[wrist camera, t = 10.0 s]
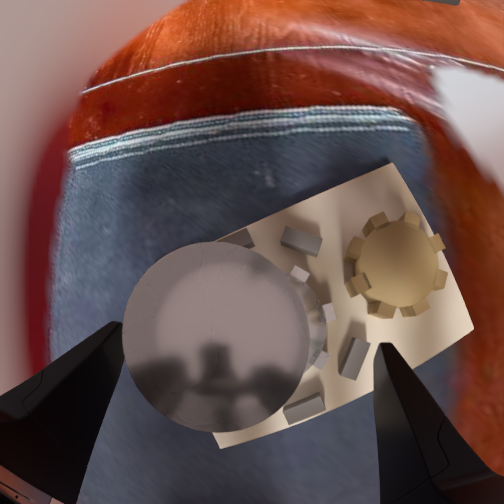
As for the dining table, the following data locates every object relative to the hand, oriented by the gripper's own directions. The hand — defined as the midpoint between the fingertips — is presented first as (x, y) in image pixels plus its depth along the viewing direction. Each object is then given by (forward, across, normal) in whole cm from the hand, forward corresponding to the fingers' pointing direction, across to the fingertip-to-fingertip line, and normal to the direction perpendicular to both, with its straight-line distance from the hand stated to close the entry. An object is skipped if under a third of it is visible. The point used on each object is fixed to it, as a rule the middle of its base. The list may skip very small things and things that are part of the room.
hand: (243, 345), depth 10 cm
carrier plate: (+9, -3, +6) cm, 11 cm away
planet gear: (+7, 0, +6) cm, 9 cm away
